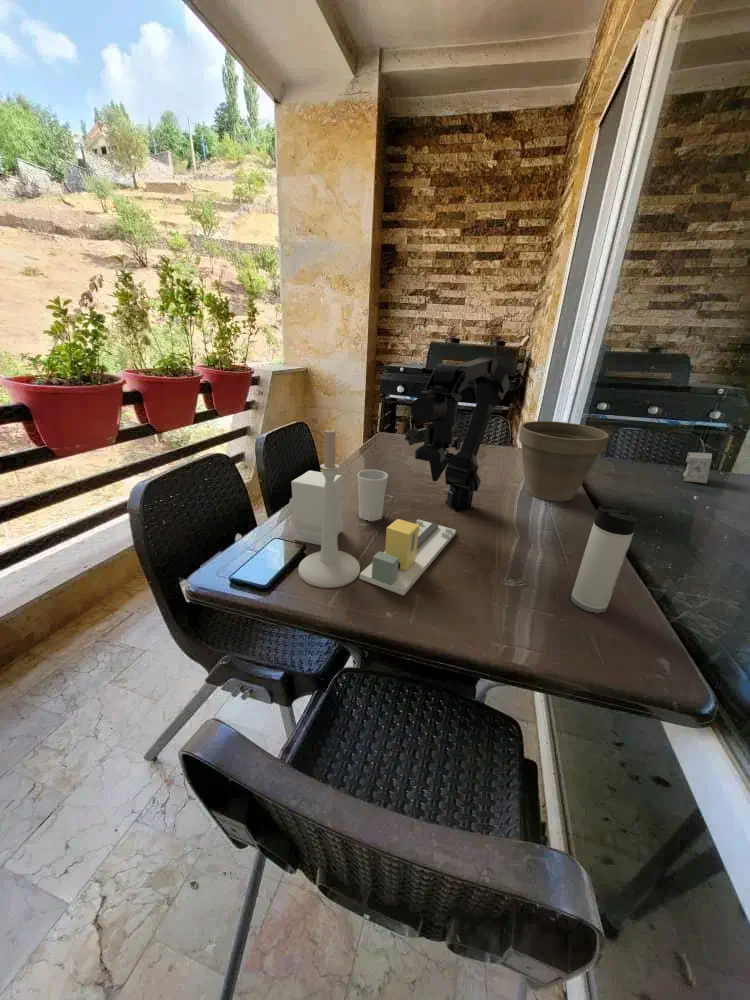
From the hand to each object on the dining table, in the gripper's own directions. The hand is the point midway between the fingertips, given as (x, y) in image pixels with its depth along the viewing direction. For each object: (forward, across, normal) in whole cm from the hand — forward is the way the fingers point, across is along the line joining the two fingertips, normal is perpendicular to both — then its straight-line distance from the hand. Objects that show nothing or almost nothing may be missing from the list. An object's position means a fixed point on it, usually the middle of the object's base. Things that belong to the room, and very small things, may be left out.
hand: (434, 480), depth 99 cm
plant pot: (+10, -43, +26) cm, 51 cm away
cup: (+13, +4, -15) cm, 20 cm away
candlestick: (+14, +31, -11) cm, 36 cm away
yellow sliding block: (+12, +23, +1) cm, 26 cm away
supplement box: (+13, +20, -21) cm, 32 cm away
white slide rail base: (+13, +16, +2) cm, 21 cm away
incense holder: (+8, -90, +75) cm, 118 cm away
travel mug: (+13, +16, +38) cm, 43 cm away
